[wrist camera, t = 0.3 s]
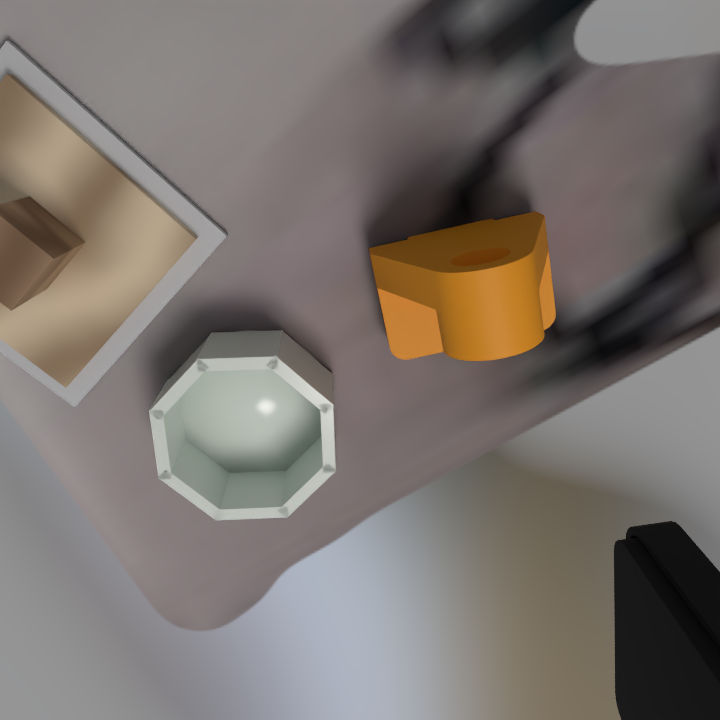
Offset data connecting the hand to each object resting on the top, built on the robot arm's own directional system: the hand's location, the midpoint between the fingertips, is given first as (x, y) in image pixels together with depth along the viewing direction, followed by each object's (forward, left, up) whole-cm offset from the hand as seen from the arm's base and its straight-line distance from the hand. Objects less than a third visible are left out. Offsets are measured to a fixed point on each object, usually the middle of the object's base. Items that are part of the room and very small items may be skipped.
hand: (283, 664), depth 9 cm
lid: (-12, -12, -35) cm, 39 cm away
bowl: (+5, -12, -36) cm, 38 cm away
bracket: (+9, +4, -36) cm, 37 cm away
